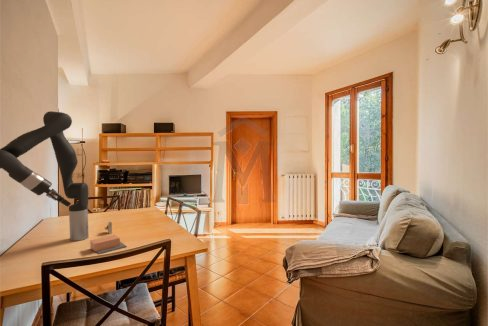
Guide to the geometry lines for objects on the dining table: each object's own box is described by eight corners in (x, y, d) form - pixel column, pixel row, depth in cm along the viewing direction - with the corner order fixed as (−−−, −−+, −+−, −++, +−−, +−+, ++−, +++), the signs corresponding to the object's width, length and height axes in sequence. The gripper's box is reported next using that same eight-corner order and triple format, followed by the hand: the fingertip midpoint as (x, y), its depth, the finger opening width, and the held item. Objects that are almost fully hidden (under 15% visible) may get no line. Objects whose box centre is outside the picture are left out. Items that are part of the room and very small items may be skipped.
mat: (91, 246, 132) (91, 245, 132) (117, 240, 142) (117, 239, 142) (99, 254, 122) (99, 253, 122) (126, 246, 131) (126, 246, 131)
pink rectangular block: (90, 240, 129) (114, 234, 138) (90, 247, 129) (115, 241, 138) (94, 243, 123) (119, 238, 132) (94, 251, 124) (119, 245, 132)
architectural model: (106, 235, 153) (105, 223, 152) (104, 232, 158) (103, 221, 158) (112, 234, 155) (111, 222, 155) (110, 231, 160) (109, 220, 160)
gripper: (44, 178, 112) (78, 200, 121) (41, 176, 121) (72, 197, 130) (30, 191, 108) (65, 213, 117) (27, 188, 118) (60, 208, 127)
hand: (69, 204), depth 124 cm, fingers closed
